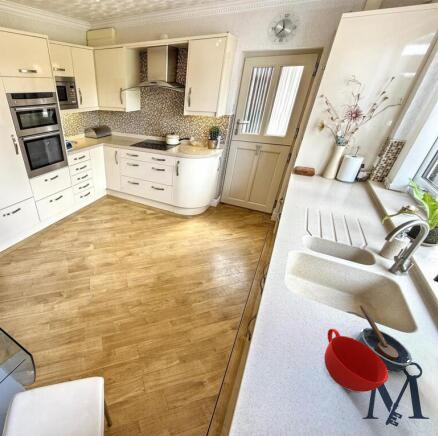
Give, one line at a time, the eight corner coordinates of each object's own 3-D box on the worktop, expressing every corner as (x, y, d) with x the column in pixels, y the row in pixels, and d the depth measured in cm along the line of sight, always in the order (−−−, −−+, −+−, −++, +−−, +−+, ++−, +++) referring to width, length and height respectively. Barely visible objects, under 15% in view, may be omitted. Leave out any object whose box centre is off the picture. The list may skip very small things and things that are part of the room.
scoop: (396, 363, 73) (413, 348, 69) (381, 363, 73) (397, 347, 69) (356, 319, 87) (368, 304, 83) (343, 319, 87) (355, 304, 82)
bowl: (378, 336, 82) (386, 328, 80) (413, 373, 72) (423, 365, 69) (346, 335, 81) (352, 327, 79) (376, 373, 71) (384, 365, 69)
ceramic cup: (340, 344, 78) (355, 326, 73) (380, 404, 64) (402, 386, 59) (301, 340, 79) (313, 322, 74) (332, 399, 64) (350, 380, 59)
